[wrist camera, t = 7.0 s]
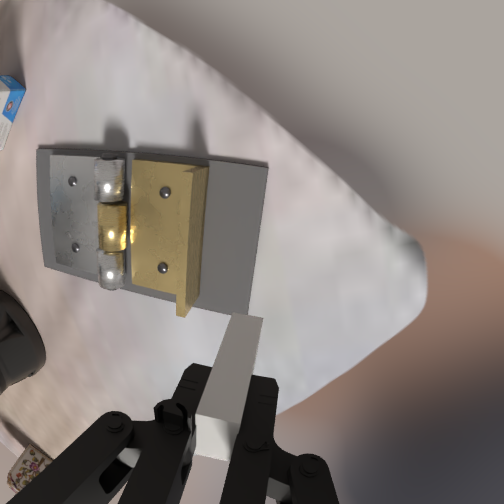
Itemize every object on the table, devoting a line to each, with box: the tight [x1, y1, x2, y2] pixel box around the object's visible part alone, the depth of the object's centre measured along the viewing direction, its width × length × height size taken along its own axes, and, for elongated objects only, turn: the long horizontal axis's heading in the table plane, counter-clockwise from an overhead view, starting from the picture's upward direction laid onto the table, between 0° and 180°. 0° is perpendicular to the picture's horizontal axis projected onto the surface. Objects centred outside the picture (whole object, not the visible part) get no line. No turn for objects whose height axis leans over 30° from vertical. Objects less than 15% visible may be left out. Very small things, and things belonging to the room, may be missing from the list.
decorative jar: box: [7, 444, 53, 495], centre depth 55 cm, size 12×12×18 cm
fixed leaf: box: [50, 153, 126, 290], centre depth 28 cm, size 10×13×3 cm
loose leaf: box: [97, 159, 210, 318], centre depth 27 cm, size 10×12×4 cm
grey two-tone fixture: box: [36, 149, 268, 315], centre depth 29 cm, size 25×14×1 cm, turn 83°
